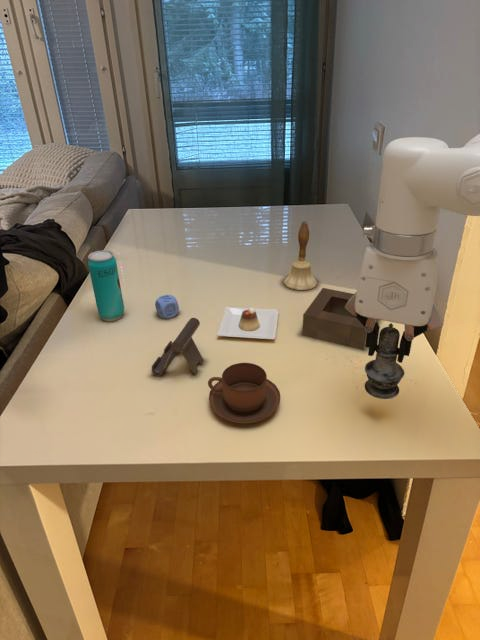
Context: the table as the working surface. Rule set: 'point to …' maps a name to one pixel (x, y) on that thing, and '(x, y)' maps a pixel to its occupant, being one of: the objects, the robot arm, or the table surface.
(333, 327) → the holder
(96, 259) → the beverage can
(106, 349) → the table surface
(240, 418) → the cup and saucer
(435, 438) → the table surface
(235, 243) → the table surface
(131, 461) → the table surface
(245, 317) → the dessert
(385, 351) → the chess piece
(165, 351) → the tablet stand
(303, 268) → the hand bell
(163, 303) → the decorative dice
